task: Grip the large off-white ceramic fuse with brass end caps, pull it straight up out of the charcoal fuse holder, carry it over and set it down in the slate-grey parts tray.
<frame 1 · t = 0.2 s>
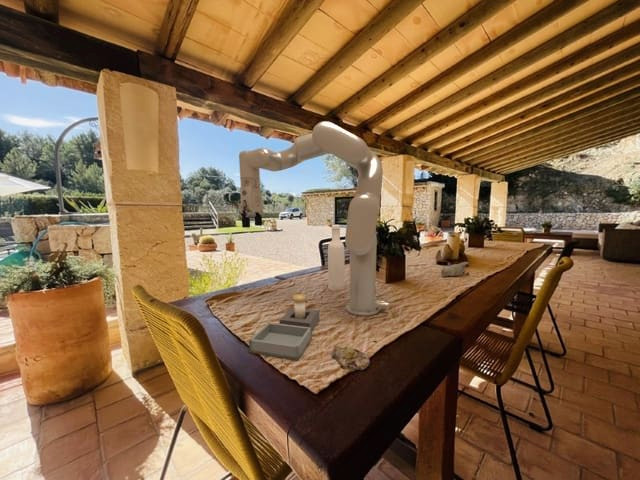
hand: (252, 226, 105), 31 cm above the table, tool pointing down, fingers open, 9 cm apart
fuse: (299, 310, 84), in the fuse holder
fuse holder: (300, 325, 84), on the table
mineral rock: (350, 361, 65), on the table
parts tray: (282, 345, 72), on the table
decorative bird: (454, 276, 139), on the table
bottle: (336, 288, 122), on the table
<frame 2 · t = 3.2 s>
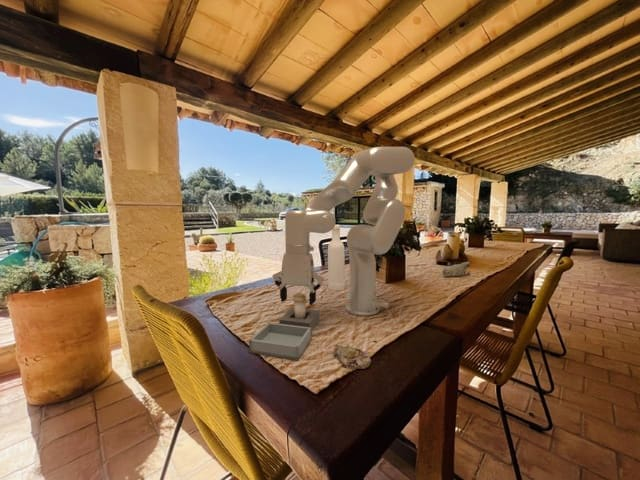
hand: (297, 301, 83), 8 cm above the table, tool pointing down, fingers open, 9 cm apart
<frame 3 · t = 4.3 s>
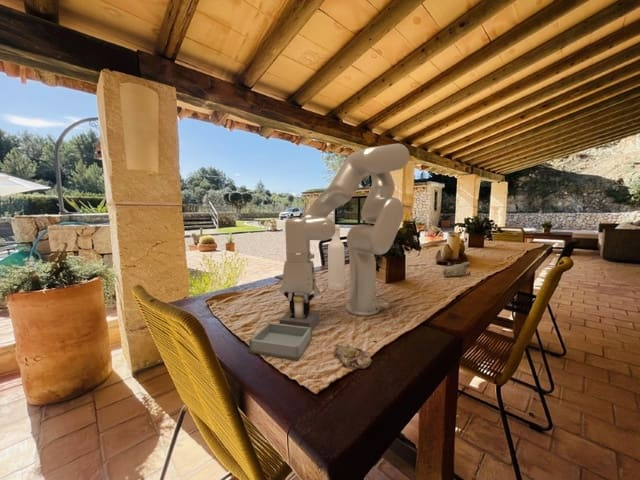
hand: (299, 312, 84), 5 cm above the table, tool pointing down, fingers closed on fuse, 3 cm apart
fuse: (299, 310, 84), in the fuse holder, touching gripper
everything else where it was.
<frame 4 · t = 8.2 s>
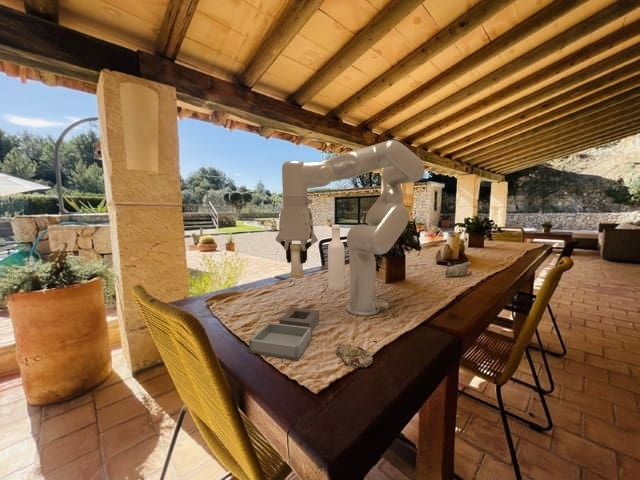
hand: (296, 261, 81), 21 cm above the table, tool pointing down, fingers closed on fuse, 3 cm apart
fuse: (296, 260, 81), point 22 cm above the table, touching gripper
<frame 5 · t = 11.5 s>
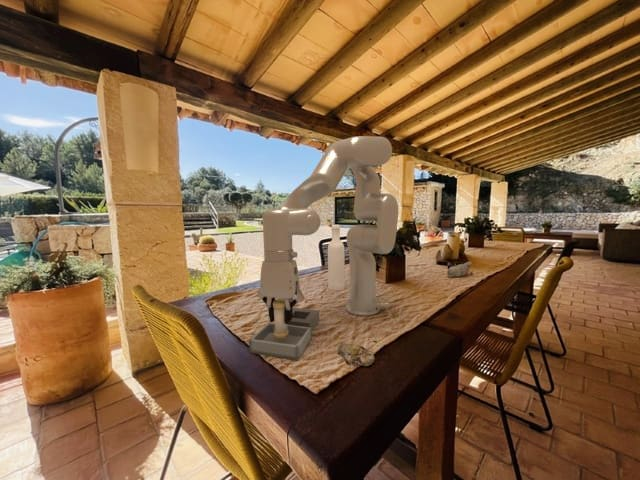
hand: (280, 320, 71), 7 cm above the table, tool pointing down, fingers closed on fuse, 3 cm apart
fuse: (280, 318, 71), point 8 cm above the table, touching gripper
when the fingers open (7 cm above the table, at t = 12.0 s): fuse drops 1 cm, resting on parts tray.
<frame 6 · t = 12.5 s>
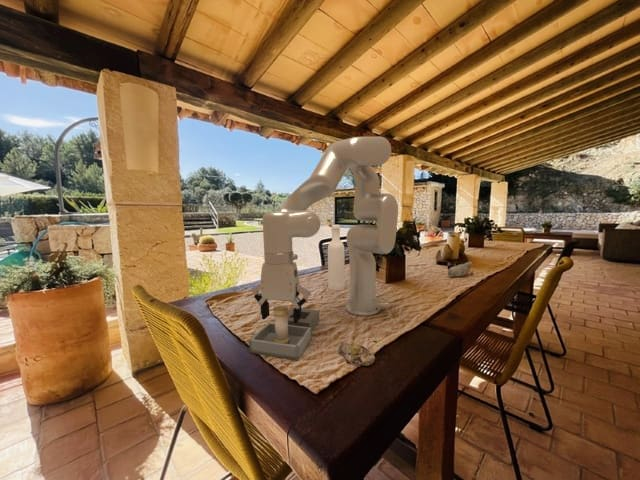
hand: (281, 319, 71), 8 cm above the table, tool pointing down, fingers open, 9 cm apart
fuse: (281, 325, 71), in the parts tray, point 6 cm above the table
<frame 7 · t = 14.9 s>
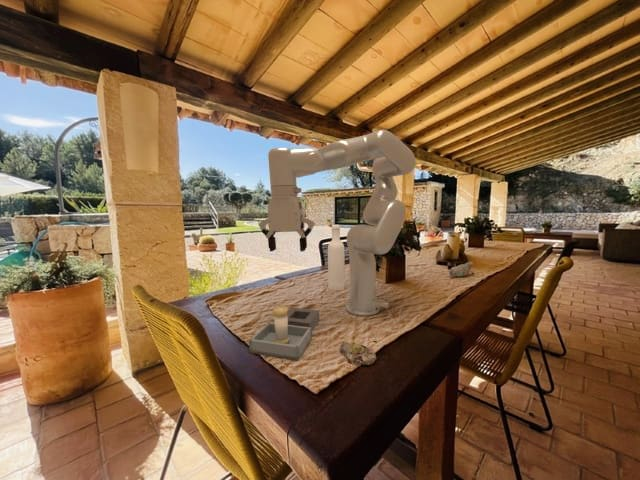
hand: (287, 250, 77), 25 cm above the table, tool pointing down, fingers open, 9 cm apart
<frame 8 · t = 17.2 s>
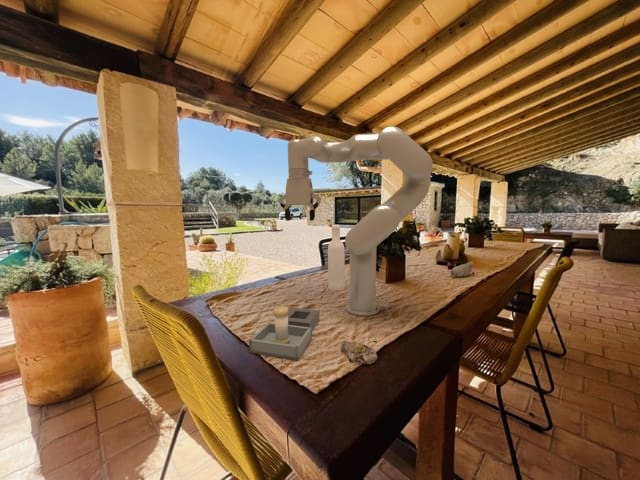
hand: (299, 220, 99), 33 cm above the table, tool pointing down, fingers open, 9 cm apart
at the end: fuse inside the target area on the parts tray (0.0 cm from its centre), point 5.8 cm above the parts tray's base; the gripper is holding nothing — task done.
